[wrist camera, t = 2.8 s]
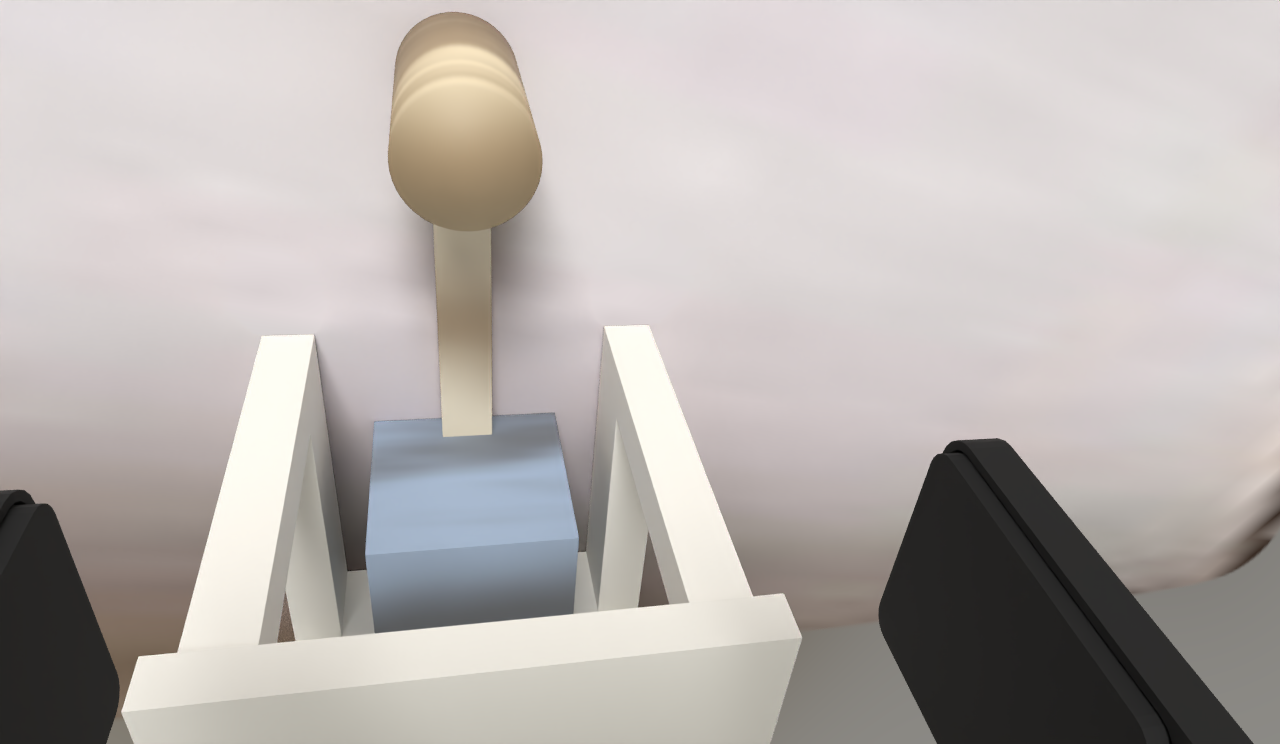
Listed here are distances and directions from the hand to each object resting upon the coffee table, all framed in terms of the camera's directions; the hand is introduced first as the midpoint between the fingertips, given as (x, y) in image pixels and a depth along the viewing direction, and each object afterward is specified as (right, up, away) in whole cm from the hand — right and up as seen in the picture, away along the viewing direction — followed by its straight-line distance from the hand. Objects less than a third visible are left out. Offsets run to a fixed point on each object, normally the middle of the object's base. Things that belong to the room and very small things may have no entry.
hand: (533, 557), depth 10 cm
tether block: (-4, +3, +18) cm, 19 cm away
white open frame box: (-5, -1, +22) cm, 22 cm away
